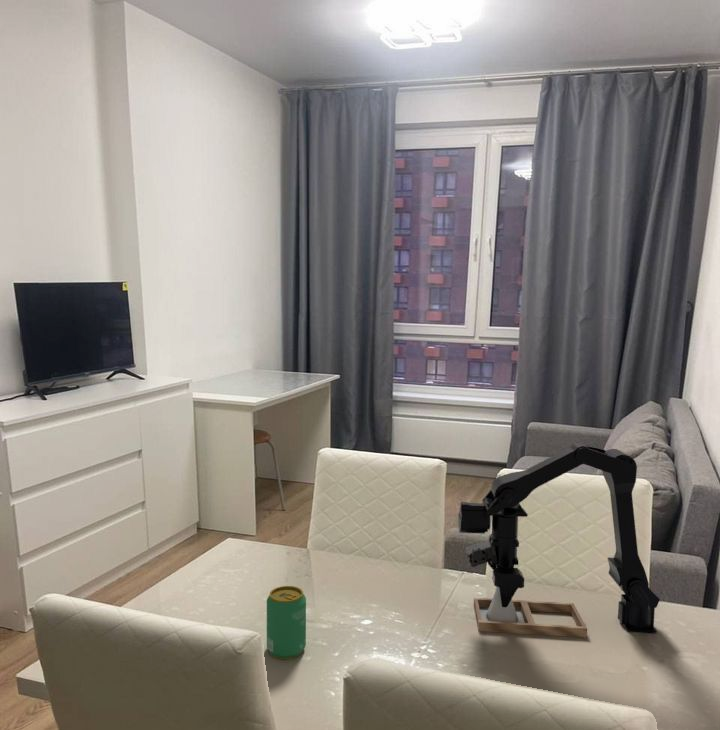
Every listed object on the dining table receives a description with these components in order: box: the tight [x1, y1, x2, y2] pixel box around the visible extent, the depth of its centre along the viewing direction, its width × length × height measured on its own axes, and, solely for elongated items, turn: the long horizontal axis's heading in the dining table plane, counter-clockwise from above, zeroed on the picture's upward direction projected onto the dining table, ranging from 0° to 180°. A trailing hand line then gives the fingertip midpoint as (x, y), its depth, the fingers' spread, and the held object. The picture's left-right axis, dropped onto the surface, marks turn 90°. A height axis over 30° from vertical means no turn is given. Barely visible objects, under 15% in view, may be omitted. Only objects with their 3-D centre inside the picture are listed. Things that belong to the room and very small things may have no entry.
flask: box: [486, 586, 518, 623], centre depth 136 cm, size 7×7×10 cm
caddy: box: [473, 597, 588, 638], centre depth 136 cm, size 23×12×2 cm, turn 84°
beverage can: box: [266, 585, 307, 660], centre depth 122 cm, size 8×8×12 cm
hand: (502, 600), depth 136 cm, fingers open, 6 cm apart
